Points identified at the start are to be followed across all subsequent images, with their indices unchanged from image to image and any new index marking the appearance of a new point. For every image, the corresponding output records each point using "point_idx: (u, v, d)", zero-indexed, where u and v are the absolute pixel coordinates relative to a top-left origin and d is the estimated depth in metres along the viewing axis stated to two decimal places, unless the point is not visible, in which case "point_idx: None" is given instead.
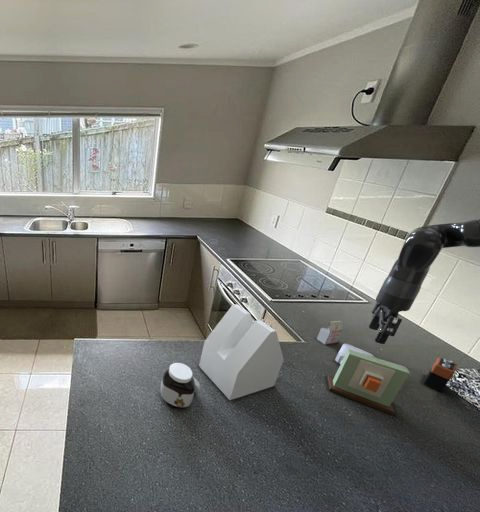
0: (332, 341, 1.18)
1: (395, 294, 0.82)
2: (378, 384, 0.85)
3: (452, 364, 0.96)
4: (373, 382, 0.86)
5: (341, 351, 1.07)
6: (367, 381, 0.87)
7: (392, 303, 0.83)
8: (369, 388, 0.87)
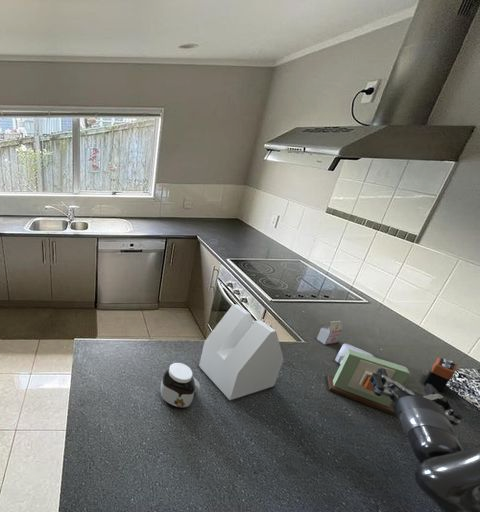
0: (332, 341, 1.18)
1: None
2: None
3: (452, 364, 0.96)
4: None
5: (341, 351, 1.07)
6: (367, 381, 0.87)
7: None
8: (369, 388, 0.87)
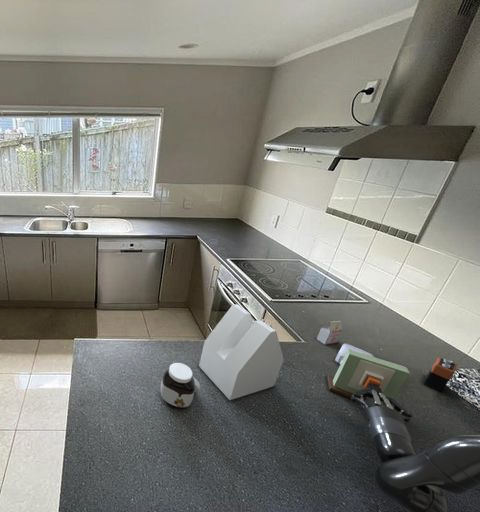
0: (332, 341, 1.18)
1: None
2: (378, 384, 0.85)
3: (452, 364, 0.96)
4: (373, 382, 0.86)
5: (341, 351, 1.07)
6: (367, 381, 0.87)
7: None
8: None
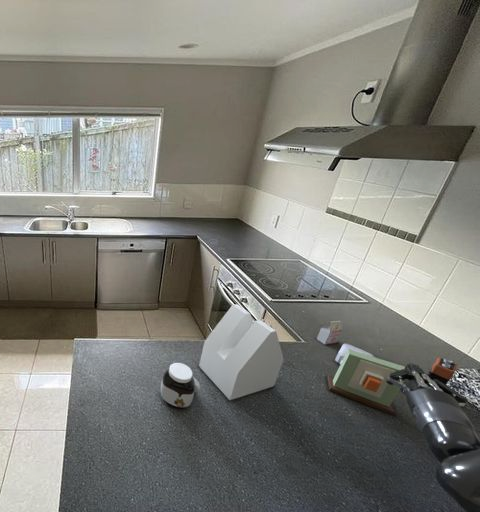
0: (332, 341, 1.18)
1: None
2: (378, 384, 0.85)
3: (452, 364, 0.96)
4: (373, 382, 0.86)
5: (341, 351, 1.07)
6: (367, 381, 0.87)
7: None
8: (369, 388, 0.87)
